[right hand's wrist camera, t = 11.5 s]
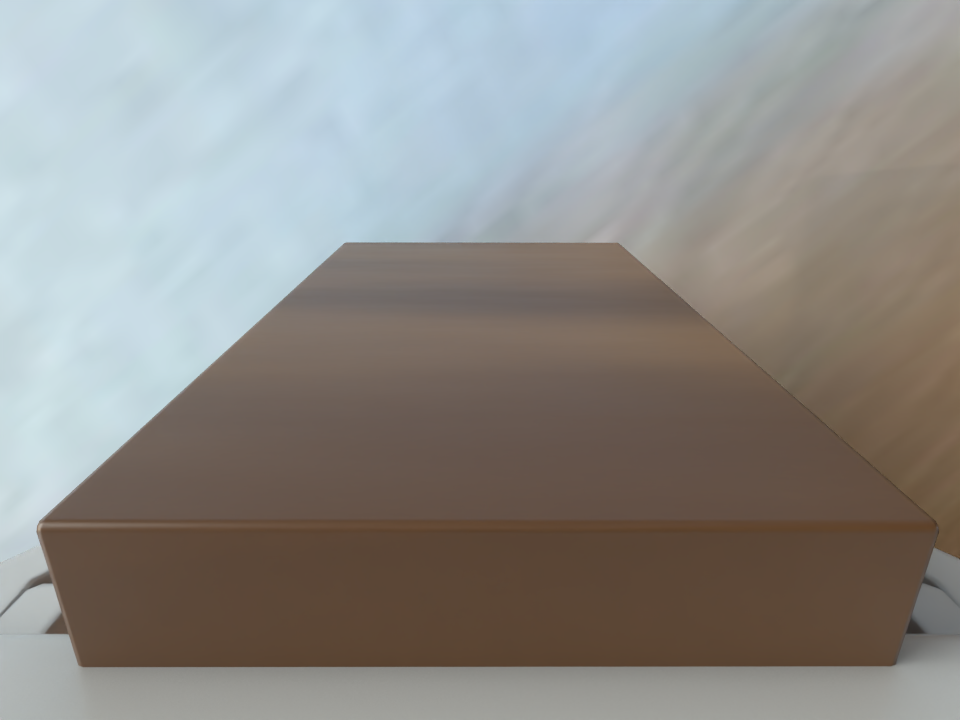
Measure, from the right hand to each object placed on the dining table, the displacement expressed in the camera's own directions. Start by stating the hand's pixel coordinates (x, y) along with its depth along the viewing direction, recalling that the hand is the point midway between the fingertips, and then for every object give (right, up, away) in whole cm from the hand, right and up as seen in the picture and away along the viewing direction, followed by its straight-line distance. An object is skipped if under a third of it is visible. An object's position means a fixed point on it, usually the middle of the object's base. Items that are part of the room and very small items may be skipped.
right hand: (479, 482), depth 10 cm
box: (0, -5, +8) cm, 9 cm away
